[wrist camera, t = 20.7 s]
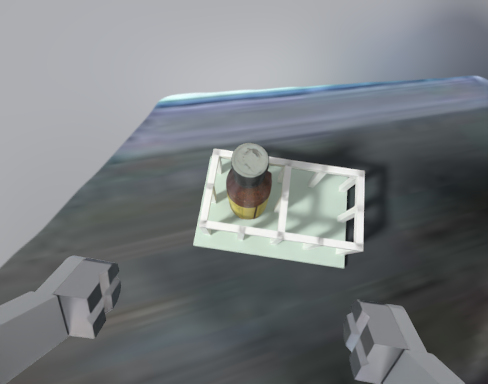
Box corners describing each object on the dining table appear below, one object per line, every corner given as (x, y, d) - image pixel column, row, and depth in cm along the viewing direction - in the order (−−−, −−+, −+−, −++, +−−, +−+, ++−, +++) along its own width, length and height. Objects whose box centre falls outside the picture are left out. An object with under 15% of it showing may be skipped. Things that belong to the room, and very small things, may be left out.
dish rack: (345, 178, 51) (368, 159, 42) (341, 268, 46) (366, 266, 38) (211, 158, 51) (206, 135, 43) (194, 245, 47) (184, 239, 38)
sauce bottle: (258, 182, 49) (274, 123, 30) (270, 215, 48) (294, 175, 29) (223, 192, 48) (216, 139, 29) (233, 226, 47) (233, 193, 28)
